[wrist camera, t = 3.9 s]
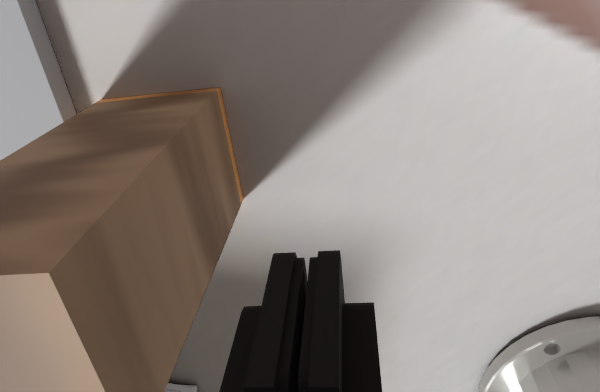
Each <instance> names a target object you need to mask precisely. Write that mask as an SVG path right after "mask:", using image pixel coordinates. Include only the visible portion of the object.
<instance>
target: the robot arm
mask: <svg viewBox="0 0 600 392" xmlns="http://www.w3.org/2000/svg"><path fill="white" fill-rule="evenodd" d="M220 392H382V386H381V376H380V365H379V354H378V343H377V332H376V321H375V311H374V303H345V301H344V289H343V277H342V266H341V255H340V250H339V251H319V252H318V257H312V258H310V263H309V273H308V282H307V274H306V266H305V260H304V258H297V256H296V253H274V254H273V257H272V262H271V266H270V271H269V275H268V280H267V284H266V289H265V293H264V297H263V302H262V306H248V307H244V308H243V310H242V312H241V316H240V319H239V323H238V326H237V330H236V334H235V337H234V341H233V345H232V348H231V352H230V356H229V359H228V363H227V367H226V370H225V374H224V377H223V381H222V385H221V388H220ZM478 392H600V316H595V317H585V318H578V319H572V320H566V321H563V322H560V323H556V324H553V325H549V326H546V327H543V328H541V329H539V330H537V331H534V332H532V333H530V334H528V335H526V336H524V337H522V338H521V339H519V340H518V341H516V342H514V343H513V344H511V345H510V346H508V347H507V348H506V349H505V350H504V351H503V352H502V353H500V354H499V355H498V356H497V357H496V358H495V359H494V360H493V362H492V363H491V364H490V366H489V367H488V368H487V369H486V371H485V373H484V375H483V377H482V379H481V382H480V384H479V390H478Z"/></svg>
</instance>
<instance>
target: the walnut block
mask: <svg viewBox="0 0 600 392" xmlns="http://www.w3.org/2000/svg"><path fill="white" fill-rule="evenodd" d="M242 201H243V195H242V190H241V185H240V181H239V176H238V171H237V166H236V161H235V156H234V152H233V147H232V142H231V137H230V132H229V127H228V122H227V118H226V113H225V108H224V103H223V98H222V93H221V89H220V87H217V88H207V89H197V90H188V91H178V92H168V93H159V94H149V95H140V96H130V97H120V98H111V99H101V100H100V101H98V102H96V103H95V104H93V105H91V106H90V107H88V108H86V109H85V110H83V111H81V112H80V113H78V114H76V115H75V116H73V117H71V118H70V119H68V120H66V121H65V122H63V123H62V124H60V125H58V126H57V127H55V128H53V129H52V130H50V131H48V132H47V133H45V134H43V135H42V136H40V137H38V138H37V139H35V140H33V141H32V142H30V143H28V144H27V145H25V146H23V147H22V148H20V149H19V150H17V151H15V152H14V153H12V154H10V155H9V156H7V157H5V158H4V159H2V160H0V392H164V391H165V389H166V386H167V384H168V382H169V379H170V377H171V374H172V372H173V369H174V367H175V364H176V362H177V360H178V357H179V355H180V352H181V350H182V347H183V345H184V343H185V340H186V338H187V335H188V333H189V330H190V328H191V325H192V323H193V321H194V318H195V316H196V313H197V311H198V308H199V306H200V304H201V301H202V299H203V296H204V294H205V291H206V289H207V286H208V284H209V282H210V279H211V277H212V274H213V272H214V269H215V267H216V265H217V262H218V260H219V257H220V255H221V252H222V250H223V247H224V245H225V243H226V240H227V238H228V235H229V233H230V230H231V228H232V225H233V223H234V221H235V218H236V216H237V213H238V211H239V208H240V206H241V204H242Z"/></svg>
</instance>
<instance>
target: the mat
mask: <svg viewBox="0 0 600 392" xmlns="http://www.w3.org/2000/svg"><path fill="white" fill-rule="evenodd" d="M75 115H76V111H75V108H74V105H73V103H72V100H71V97H70V94H69V92H68V89H67V86H66V83H65V81H64V78H63V75H62V72H61V70H60V67H59V64H58V61H57V59H56V56H55V53H54V50H53V48H52V45H51V42H50V39H49V37H48V34H47V31H46V28H45V26H44V23H43V20H42V18H41V15H40V12H39V9H38V7H37V4H36V1H35V0H0V160H2V159H4V158H5V157H7V156H9V155H10V154H12V153H14V152H15V151H17V150H19V149H20V148H22V147H23V146H25V145H27V144H28V143H30V142H32V141H33V140H35V139H37V138H38V137H40V136H42V135H43V134H45V133H47V132H48V131H50V130H52V129H53V128H55V127H57V126H58V125H60V124H62V123H63V122H65V121H66V120H68V119H70V118H71V117H73V116H75Z"/></svg>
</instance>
